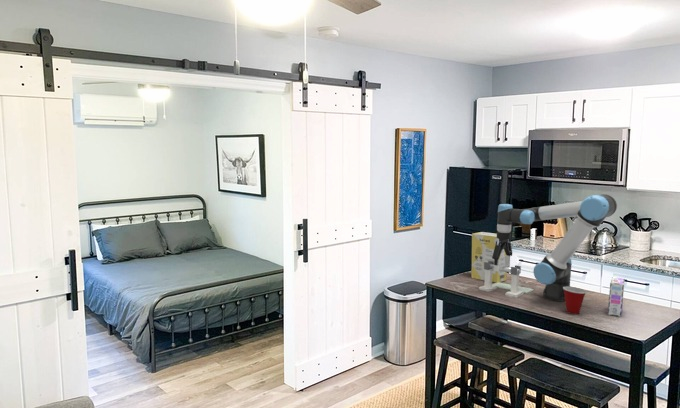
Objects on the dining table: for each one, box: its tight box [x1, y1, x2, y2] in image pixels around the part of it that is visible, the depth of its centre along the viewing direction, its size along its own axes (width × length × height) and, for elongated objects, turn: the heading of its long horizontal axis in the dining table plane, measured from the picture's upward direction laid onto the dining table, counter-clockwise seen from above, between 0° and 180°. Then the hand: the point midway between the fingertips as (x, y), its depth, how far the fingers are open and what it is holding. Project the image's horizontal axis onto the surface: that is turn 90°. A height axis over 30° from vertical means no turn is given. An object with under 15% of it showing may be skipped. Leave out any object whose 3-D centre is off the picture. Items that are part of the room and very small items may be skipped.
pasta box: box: [471, 231, 508, 283], centre depth 310 cm, size 18×10×28 cm, turn 41°
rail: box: [490, 264, 521, 275], centre depth 282 cm, size 20×3×3 cm, turn 47°
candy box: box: [607, 276, 625, 318], centre depth 249 cm, size 14×6×16 cm, turn 148°
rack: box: [478, 261, 525, 298], centre depth 283 cm, size 22×10×16 cm, turn 47°
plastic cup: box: [563, 286, 588, 315], centre depth 249 cm, size 11×11×12 cm
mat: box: [492, 282, 535, 295], centre depth 292 cm, size 22×10×1 cm, turn 47°
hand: (501, 268), depth 282 cm, fingers open, 13 cm apart
